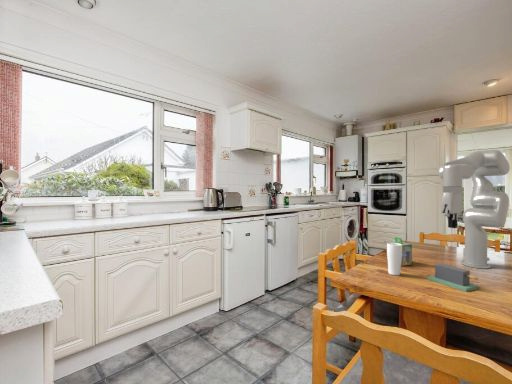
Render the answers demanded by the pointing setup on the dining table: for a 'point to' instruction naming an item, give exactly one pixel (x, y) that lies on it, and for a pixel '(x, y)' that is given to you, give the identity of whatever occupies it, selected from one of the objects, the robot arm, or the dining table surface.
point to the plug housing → (453, 274)
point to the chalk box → (405, 252)
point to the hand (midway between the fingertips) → (452, 227)
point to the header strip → (463, 288)
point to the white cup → (394, 258)
